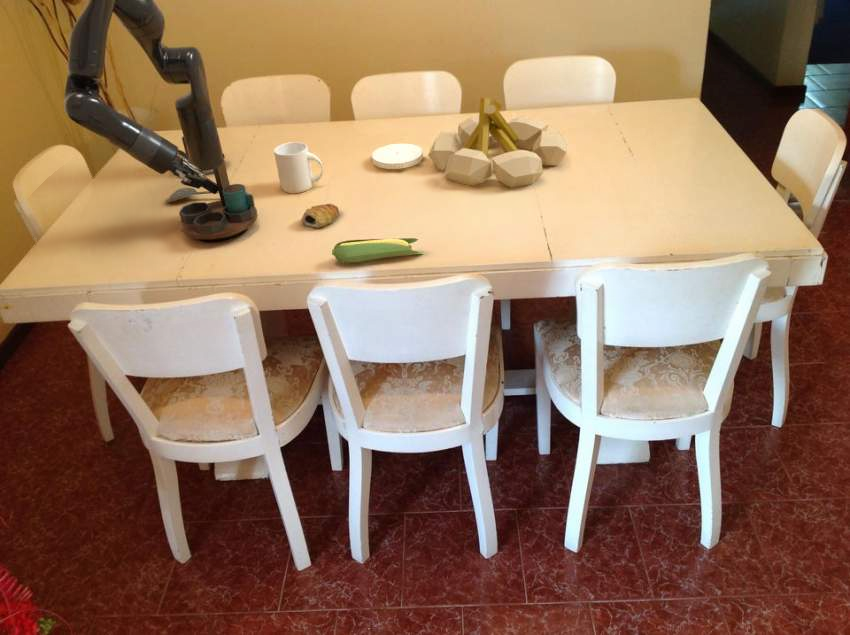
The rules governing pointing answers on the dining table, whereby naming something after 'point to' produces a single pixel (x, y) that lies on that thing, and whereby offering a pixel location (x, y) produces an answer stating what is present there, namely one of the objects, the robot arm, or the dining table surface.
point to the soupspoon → (186, 193)
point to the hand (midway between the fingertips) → (217, 190)
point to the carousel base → (224, 237)
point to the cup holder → (220, 210)
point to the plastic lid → (397, 156)
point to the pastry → (320, 215)
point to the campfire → (516, 134)
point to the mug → (295, 167)
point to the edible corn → (373, 249)
